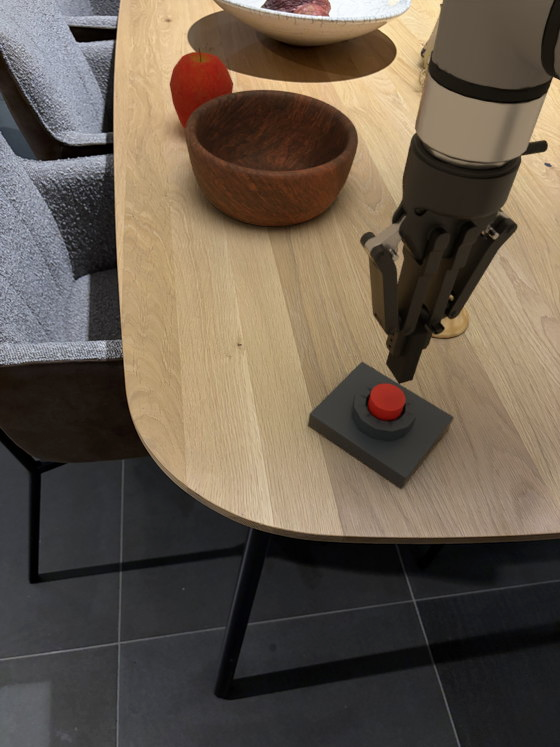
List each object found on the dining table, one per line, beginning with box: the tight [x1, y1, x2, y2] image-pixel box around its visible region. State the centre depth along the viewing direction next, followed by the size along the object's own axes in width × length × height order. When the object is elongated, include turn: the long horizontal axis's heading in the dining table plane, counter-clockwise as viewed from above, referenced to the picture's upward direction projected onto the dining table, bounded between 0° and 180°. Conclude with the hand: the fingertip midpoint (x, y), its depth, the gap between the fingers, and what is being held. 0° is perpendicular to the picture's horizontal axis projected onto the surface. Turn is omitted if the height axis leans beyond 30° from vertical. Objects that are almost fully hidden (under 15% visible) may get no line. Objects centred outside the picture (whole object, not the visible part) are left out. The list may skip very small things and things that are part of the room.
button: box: [368, 384, 405, 421], centre depth 62 cm, size 4×4×2 cm
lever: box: [521, 139, 549, 157], centre depth 80 cm, size 13×6×2 cm, turn 21°
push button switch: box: [307, 361, 455, 490], centre depth 64 cm, size 12×10×4 cm
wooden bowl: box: [184, 89, 359, 227], centre depth 91 cm, size 25×25×10 cm
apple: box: [169, 47, 234, 129], centre depth 100 cm, size 10×10×14 cm
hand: (399, 371), depth 58 cm, fingers closed
